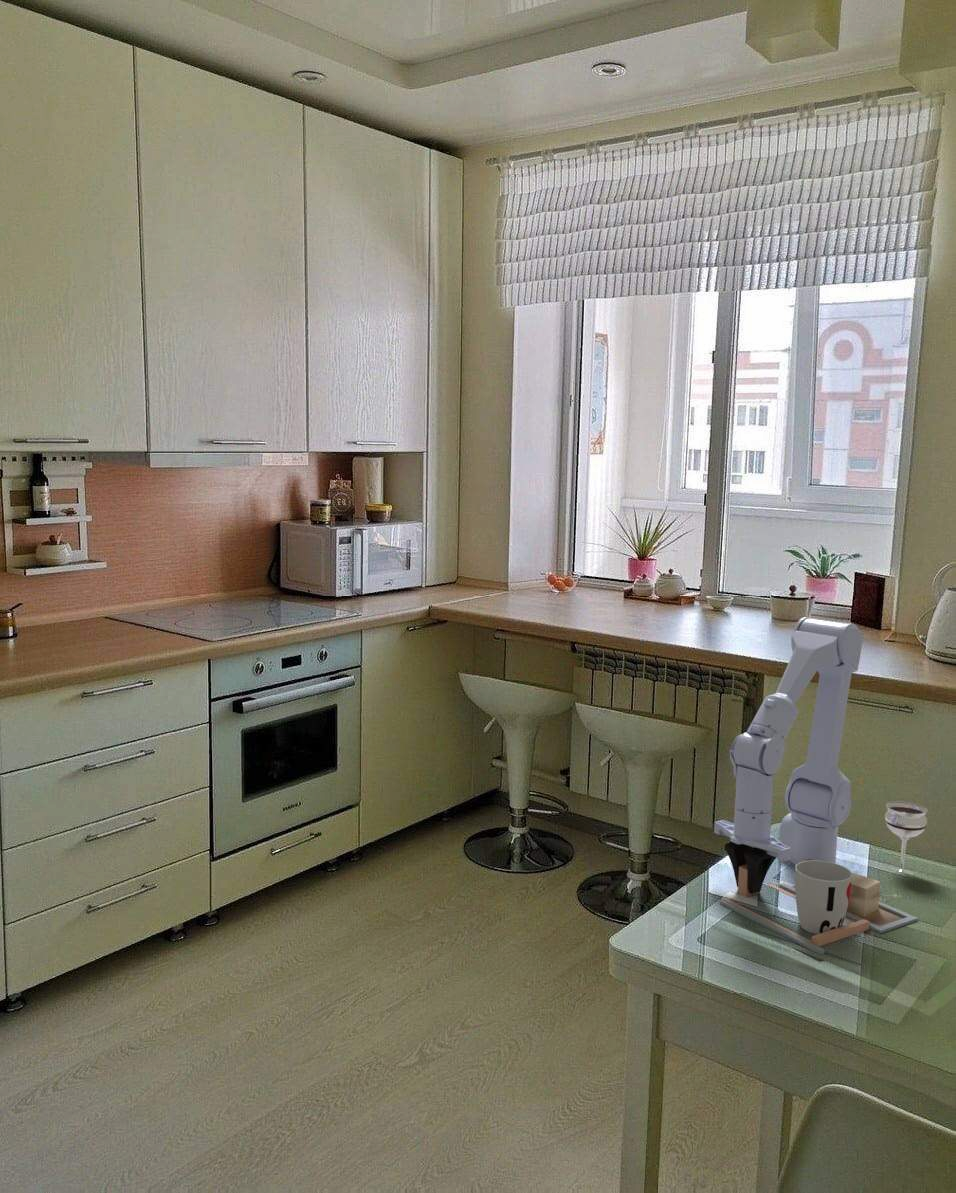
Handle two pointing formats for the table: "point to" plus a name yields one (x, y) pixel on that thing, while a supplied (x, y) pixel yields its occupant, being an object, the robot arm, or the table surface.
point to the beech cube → (863, 895)
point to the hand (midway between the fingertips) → (748, 889)
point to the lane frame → (906, 920)
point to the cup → (821, 895)
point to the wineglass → (905, 823)
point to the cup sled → (816, 939)
